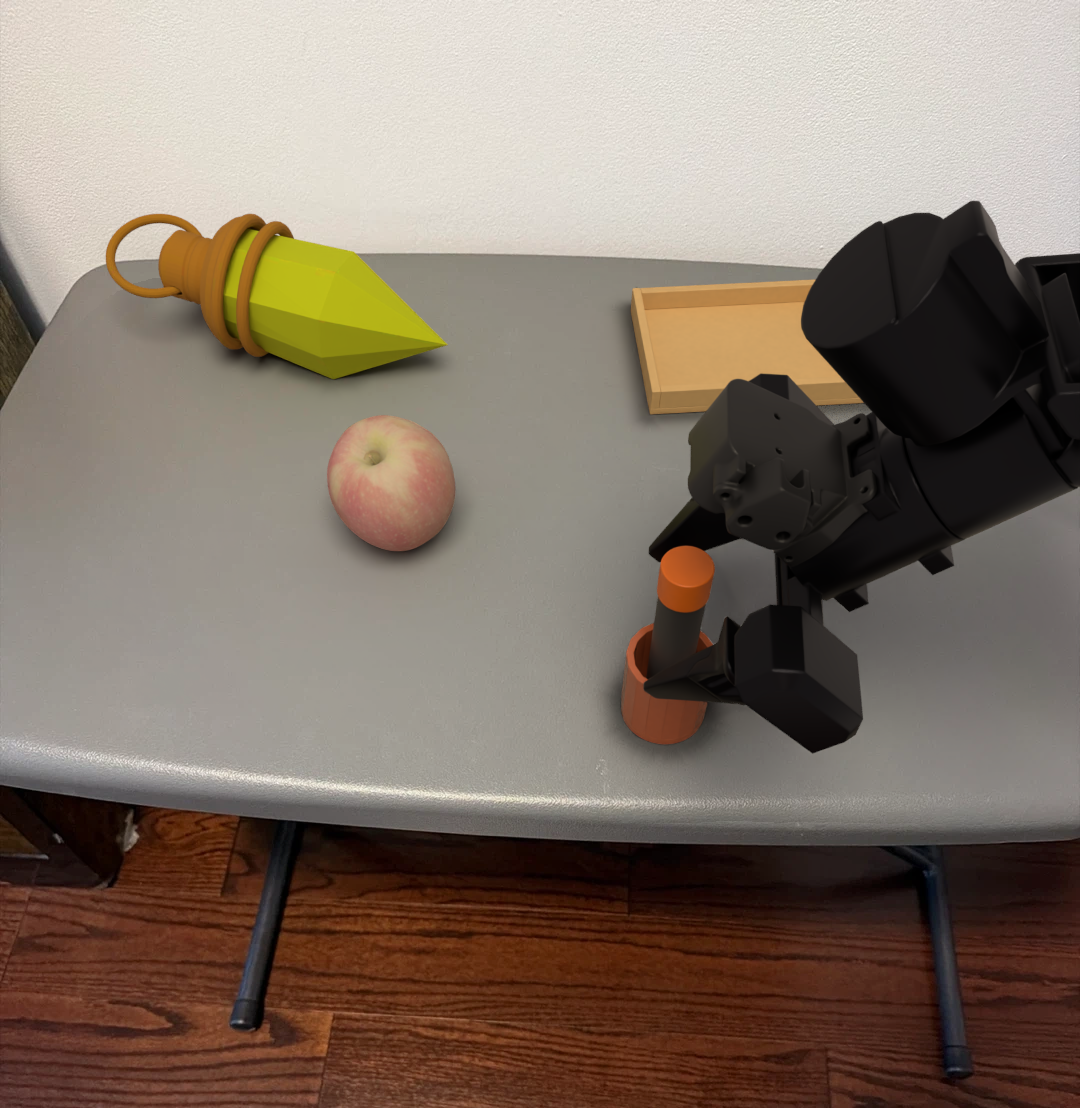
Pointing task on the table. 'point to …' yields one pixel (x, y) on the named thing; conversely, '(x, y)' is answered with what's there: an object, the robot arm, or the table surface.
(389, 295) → the plumb bob
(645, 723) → the pen cup
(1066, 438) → the robot arm
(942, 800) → the table surface
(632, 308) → the tray
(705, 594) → the cylinder
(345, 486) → the apple
